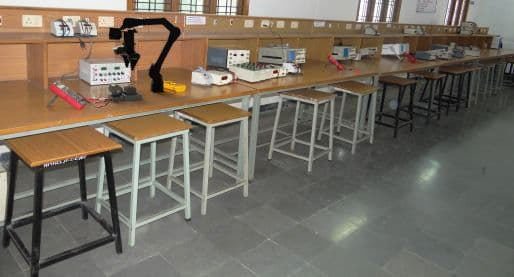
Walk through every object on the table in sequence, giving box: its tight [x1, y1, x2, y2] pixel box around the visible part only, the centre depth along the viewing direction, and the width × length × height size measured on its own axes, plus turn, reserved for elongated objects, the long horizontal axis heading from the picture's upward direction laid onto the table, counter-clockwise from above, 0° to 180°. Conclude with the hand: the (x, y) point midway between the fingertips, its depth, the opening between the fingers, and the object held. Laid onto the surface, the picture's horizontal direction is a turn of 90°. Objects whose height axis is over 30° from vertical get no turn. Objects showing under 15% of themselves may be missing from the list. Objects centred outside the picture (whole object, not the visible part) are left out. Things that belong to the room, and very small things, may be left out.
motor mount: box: [107, 83, 143, 102], centre depth 219 cm, size 15×10×8 cm, turn 125°
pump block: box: [123, 83, 137, 95], centre depth 221 cm, size 5×5×8 cm
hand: (129, 69), depth 235 cm, fingers open, 9 cm apart
